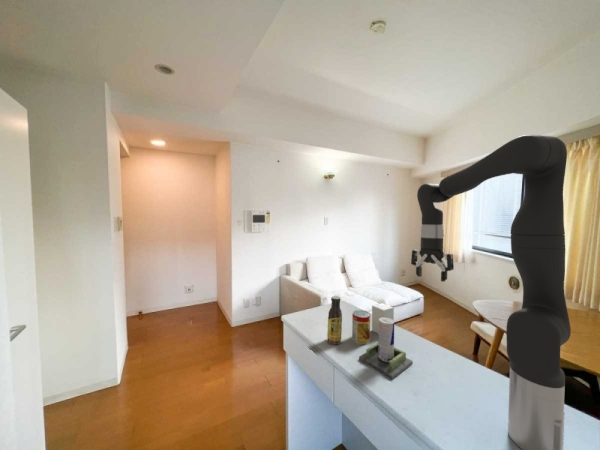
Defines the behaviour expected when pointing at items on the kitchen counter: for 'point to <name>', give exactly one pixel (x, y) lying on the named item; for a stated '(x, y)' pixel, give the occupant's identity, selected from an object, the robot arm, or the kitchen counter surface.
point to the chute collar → (386, 368)
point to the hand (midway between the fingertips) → (430, 278)
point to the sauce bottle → (334, 321)
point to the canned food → (361, 326)
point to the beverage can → (386, 339)
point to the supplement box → (380, 315)
